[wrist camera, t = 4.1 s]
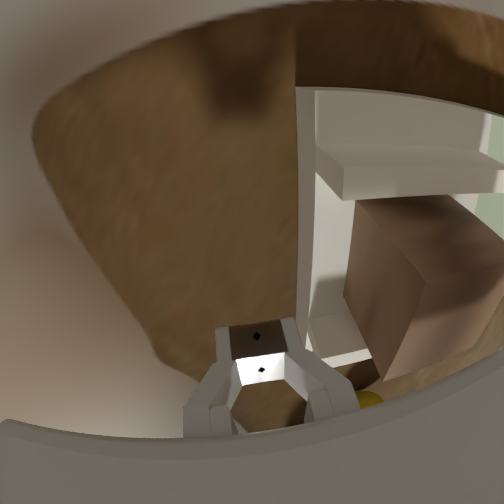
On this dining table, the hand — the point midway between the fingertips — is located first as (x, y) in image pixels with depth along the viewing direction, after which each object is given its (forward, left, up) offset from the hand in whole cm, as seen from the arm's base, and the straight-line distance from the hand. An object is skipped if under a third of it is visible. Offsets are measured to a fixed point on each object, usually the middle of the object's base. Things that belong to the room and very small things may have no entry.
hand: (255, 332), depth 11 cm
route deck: (-19, 0, -7) cm, 21 cm away
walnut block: (-8, 0, -4) cm, 9 cm away
